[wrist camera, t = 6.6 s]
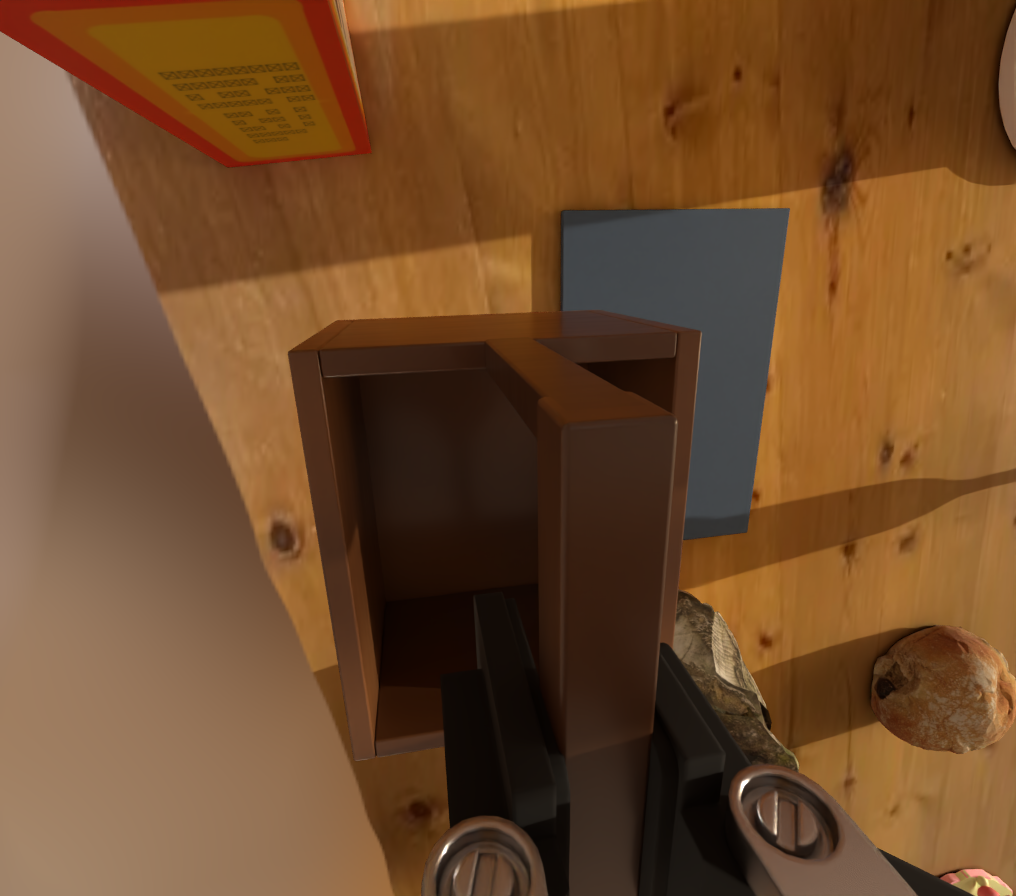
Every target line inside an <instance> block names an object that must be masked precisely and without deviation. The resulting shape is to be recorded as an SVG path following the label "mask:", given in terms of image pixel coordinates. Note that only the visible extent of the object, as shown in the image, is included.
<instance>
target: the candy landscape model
mask: <svg viewBox="0 0 1016 896" xmlns="http://www.w3.org/2000/svg"><path fill="white" fill-rule="evenodd" d="M940 879H942V880H944V881H946V882H948V883H950V884H952V885H954V886H956V887H958V888H960V889H962V890H964V891H966V892H968V893H970V894H972V895H974V896H1012V893H1013V891H1012V890H1011V889H1010V888H1009V887H1008V886H1007V885H1006V884H1005V883H1004V882H1003V881H1002V880H1001V879H1000V878H999V877H997V876H991V875H990V874H989V873H986V872H985V871H984V870H982V869H964V870H960V871H959V872H957V873H950V874H946V875H944V876H943V877H941V878H940Z"/></svg>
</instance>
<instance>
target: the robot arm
mask: <svg viewBox="0 0 1016 896" xmlns="http://www.w3.org/2000/svg"><path fill="white" fill-rule="evenodd" d="M998 86H999V106H1000V111H1001V115H1002V120H1003V124H1004V128H1005V130H1006V132H1007V135H1008V137H1009V139H1010V141H1011V144H1012V146H1013V147H1014V148H1015V149H1016V9H1015V12H1014V14H1013V17H1012V20H1011V23H1010V25H1009V28H1008V31H1007V34H1006V38H1005V43H1004V47H1003V51H1002V56H1001V61H1000V72H999V82H998ZM474 617H475V635H476V653H477V669H475V670H468V671H461V672H454V673H447V674H440V684H441V699H442V714H443V730H444V745H445V760H446V775H447V790H448V805H449V820H450V829H448V830H447V831H446V832H445V833H444V835H443V836H442V837H441V838H440V839H439V840H438V841H437V842H436V844H435V845H434V847H433V849H432V851H431V853H430V855H429V857H428V859H427V861H426V863H425V869H424V874H423V880H422V890H421V896H569V891H570V888H569V852H570V785H569V778H568V772H567V768H566V763H565V760H564V756H563V754H562V753H561V752H560V751H559V750H558V747H557V743H556V740H555V737H554V733H553V730H552V727H551V724H550V720H549V717H548V714H547V710H546V707H545V704H544V700H543V697H542V694H541V691H540V687H539V675H538V672H537V669H536V666H535V663H534V659H533V656H532V653H531V650H530V646H529V643H528V640H527V637H526V633H525V630H524V627H523V624H522V621H521V617H520V614H519V611H518V608H517V604H516V601H515V599H514V598H510V599H505V598H504V595H503V592H495V593H487V594H478V595H474ZM639 896H974V895H972V894H970V893H968V892H966V891H964V890H962V889H960V888H958V887H956V886H954V885H952V884H950V883H948V882H946V881H944V880H942V879H940V878H938V877H936V876H934V875H932V874H930V873H928V872H925V871H923V870H921V869H919V868H917V867H915V866H913V865H911V864H909V863H907V862H905V861H903V860H901V859H899V858H897V857H895V856H893V855H891V854H889V853H887V852H885V851H883V850H881V849H878V848H876V847H875V845H874V844H873V843H872V842H871V841H870V840H869V838H868V837H867V836H866V835H865V834H864V833H863V832H862V830H861V829H860V828H859V827H858V826H857V825H856V823H855V822H854V821H853V820H852V819H851V818H850V817H849V815H848V814H847V813H846V812H845V811H844V810H843V808H842V807H841V806H840V805H839V804H838V803H837V802H836V800H835V799H834V798H833V797H832V796H830V795H829V794H828V793H827V792H826V791H825V790H824V789H823V788H822V787H821V786H820V785H819V784H817V783H815V782H814V781H812V780H811V779H809V778H808V777H806V776H805V775H803V774H801V773H799V772H796V771H794V770H791V769H789V768H786V767H784V766H778V765H772V764H756V765H752V764H751V763H750V761H749V760H748V759H747V757H746V756H745V754H744V753H743V751H742V750H741V748H740V747H739V745H738V744H737V742H736V741H735V740H734V738H733V737H732V735H731V734H730V732H729V731H728V729H727V728H726V726H725V725H724V723H723V722H722V721H721V719H720V718H719V716H718V715H717V713H716V712H715V710H714V709H713V707H712V706H711V704H710V703H709V702H708V700H707V699H706V697H705V696H704V694H703V693H702V691H701V690H700V688H699V687H698V686H697V684H696V683H695V681H694V680H693V678H692V677H691V675H690V674H689V672H688V671H687V669H686V668H685V667H684V665H683V664H682V662H681V661H680V659H679V658H678V656H677V655H676V653H675V652H674V650H673V649H672V648H671V647H670V646H669V645H668V644H666V643H664V642H663V643H660V651H659V663H658V676H657V688H656V700H655V712H654V724H653V737H652V741H651V753H650V765H649V777H648V789H647V801H646V814H645V826H644V838H643V850H642V862H641V874H640V886H639Z"/></svg>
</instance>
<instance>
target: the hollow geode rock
mask: <svg viewBox="0 0 1016 896" xmlns="http://www.w3.org/2000/svg"><path fill="white" fill-rule="evenodd" d="M673 650H674V652H675V653H676V655H677V656H678V658H679V659H680V661H681V662H682V664H683V665H684V667H685V668H686V669H687V671H688V672H689V674H690V675H691V677H692V678H693V680H694V681H695V683H696V684H697V686H698V687H699V688H700V690H701V691H702V693H703V694H704V696H705V697H706V699H707V700H708V702H709V703H710V704H711V706H712V707H713V709H714V710H715V712H716V713H717V715H718V716H719V718H720V719H721V721H722V722H723V723H724V725H725V726H726V728H727V729H728V731H729V732H730V734H731V735H732V737H733V738H734V740H735V741H736V742H737V744H738V745H739V747H740V748H741V750H742V751H743V753H744V754H745V756H746V757H747V759H748V760H749V761H750V763H751V764H752V765H756V764H772V765H778V766H784V767H786V768H789V769H791V770H794V771H796V772H798V769H799V763H798V761H797V759H796V757H795V755H794V753H792V752H791V751H789V750H788V749H786V748H785V747H784V746H783V745H782V744H781V743H780V741H779V740H778V739H777V738H776V737H775V736H774V735H773V734H772V733H771V732H770V729H771V724H772V722H771V719H770V715H769V712H768V710H767V708H766V704H765V702H764V700H763V699H762V696H761V694H760V692H759V690H758V687H757V685H756V683H755V681H754V679H753V677H752V676H751V674H750V672H749V671H748V669H747V668H746V666H745V664H744V662H743V660H742V657H741V653H740V650H739V647H738V644H737V642H736V640H735V638H734V636H733V634H732V632H731V631H730V630H729V629H728V625H727V624H726V622H725V621H724V619H723V618H722V616H721V615H720V613H719V612H714V610H713V608H712V606H710V605H709V604H707V603H703V604H702V603H701V602H700V601H699V600H698V599H697V598H695V597H694V596H693V595H691V594H690V593H688V592H686V591H682V590H679V589H678V599H677V609H676V620H675V631H674V642H673Z"/></svg>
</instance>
